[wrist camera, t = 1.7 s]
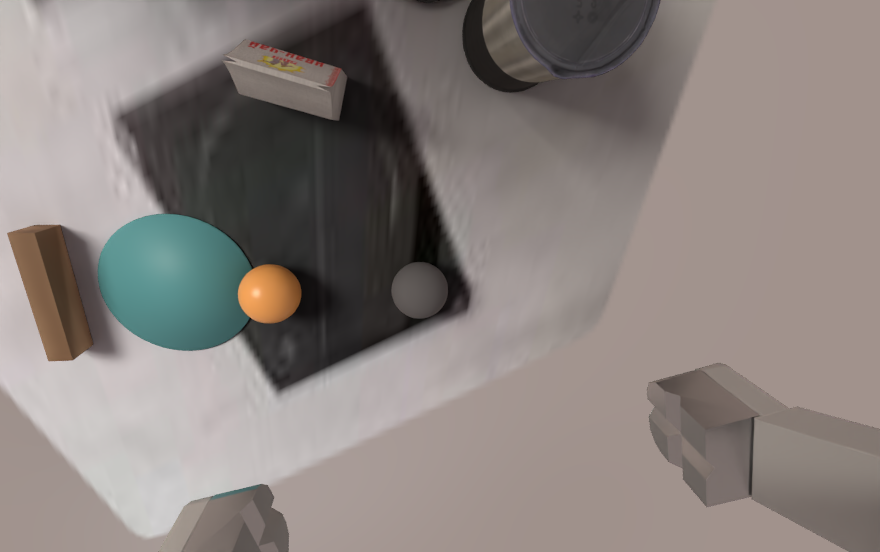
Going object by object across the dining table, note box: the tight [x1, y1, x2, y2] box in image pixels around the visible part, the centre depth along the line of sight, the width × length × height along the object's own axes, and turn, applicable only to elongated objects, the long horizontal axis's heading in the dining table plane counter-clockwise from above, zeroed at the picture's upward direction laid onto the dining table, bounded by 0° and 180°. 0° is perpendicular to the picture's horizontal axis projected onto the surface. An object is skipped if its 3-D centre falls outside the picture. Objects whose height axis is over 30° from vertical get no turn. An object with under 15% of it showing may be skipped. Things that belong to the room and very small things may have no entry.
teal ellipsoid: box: [98, 214, 252, 351], centre depth 41 cm, size 14×14×1 cm
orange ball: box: [238, 264, 301, 323], centre depth 40 cm, size 6×6×6 cm
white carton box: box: [223, 39, 347, 121], centre depth 32 cm, size 4×7×10 cm, turn 75°
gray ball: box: [392, 262, 448, 318], centre depth 41 cm, size 6×6×6 cm
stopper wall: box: [7, 225, 93, 361], centre depth 38 cm, size 2×12×3 cm, turn 178°
